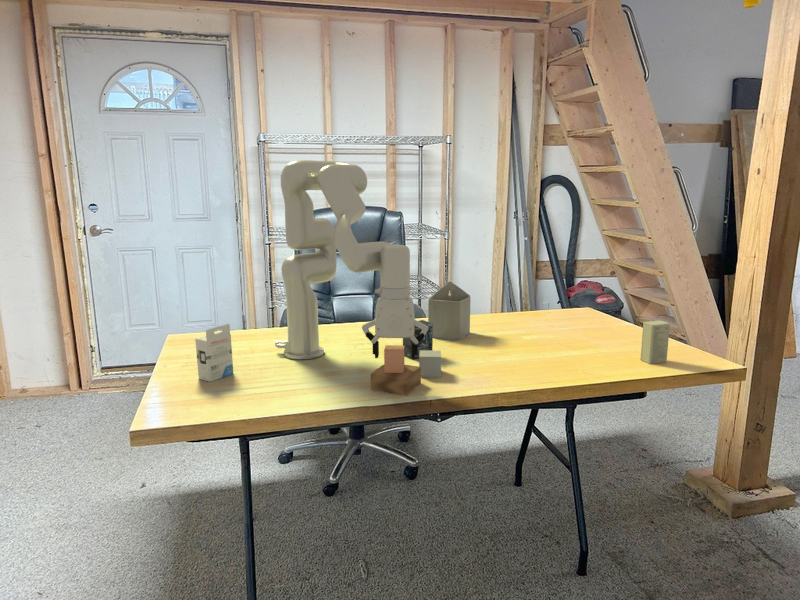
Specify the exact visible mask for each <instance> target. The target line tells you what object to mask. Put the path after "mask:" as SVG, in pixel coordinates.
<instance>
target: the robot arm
mask: <svg viewBox="0 0 800 600" xmlns="http://www.w3.org/2000/svg"><path fill="white" fill-rule="evenodd" d="M367 186H368V177H367V174H366V172H365V171H364V169H362V167H361V166H359V165H357V164H353V163H346V162H340V161H339V162H338V161H332V160H331V161H329V160H311V159H310V160H309V159H308V160H305V159H302V160H301V159H300V160H294V161H290V162H288V163H287V164H286V165H284V167H283V168H282V171H281V175H280V189H281V193H282V196H283V202H284V225H285V227H284V229H285V241H286V244H287V245H286V246H288V248H289V249H291V250H294V251H307V250H314V252H312V253H301V254H294V255H291V256H289V257H287V258H285V259H284V260H283V261H282V264H281V269H280V270H281V276H282V279H283V280H282V281H283V284H284V289H285V291H284V292H285V300H286V301H285V303H286V318H287V319H286V320H287V321H286V322H287V323H286V324H287V339H285V340H275V345H274V346H275V347H276V348H277V349H284V351H283V356H285V357H286V358H288V359H291V360H309V359H315V358H319V357H321V356H323V355H324V354H325V349H324V347H322V346H320V339H319V338H320V335H319V313H318V312H319V308H318V298H317V294H316V292H315V291H314V289H312V287H311V285H314V284H319V283H326V282H329V281H331V280H333V279H334V277H336V273H337V263H338V262H337V258H338V257H337V253H338V254H339V256H340V259H341V260H342V262H343V264H344V265H345V266H346V268H347V269H348V270H350V271H351V272H353V273H356V274H360V273H367V272H375V271H380V272H379V273H380V283H379V284H380V286H379V287H378V288H374V294H376V295H379V297H378V298H377V300H376V306H375V318H374V319H373V320H369V321H368V322H366V323H364V324H362V326H361V330H362V332H363V334H365V335H364V336H365V337H366V338H367V340H369V341H370V343H371V344H372V355H374V359H378V358H379V354H380V352H379V351H380V349H379V348H380V347H379V346H380V341H379V339H381V338H383V339H384V338H385V339H403V338H410V339H411V340H412V341H413V342H412V358H413V359H412V360H415V359H416V358H415V355H417V353H418V343H419V342H420V341H421V340H422V339H423V338H424V336H425V334H426V333H427V331H428V326H427V325H425V324H423V323H421V322H419V321H420V320H417V319H415V308H414V301H413V298H412V297H411V295H410V293H411V291H410V288H411V283H410V282H411V273H410V272H411V267H410V266H411V264H410V262H411V251H410V248H409V247H408V246H407V245H404V244H393V243H390V242H387V241H383V240H382V241H370V242H368V241H367V242H360V243H359V242H358V241H357V239H356V237H355V235H354V234H353V230H352V228H351V225H353V224H355V223H356V222H358V221H359V220H360V219H361V218H362V217H363V216H364V214H365V212H366V205H365V203H364V201H363V199H362V198H361V196H360V194H362V193H363V192H366V189H367V188H368V187H367ZM307 191H321V192H322V193H323V196H324V197H325V200H326V201H327V203H328V204H329V207H330V209H331V210H332V212H333V215H334V217H335V218H336V224H335V226H334V224H333V222H332V221H331V220H329V219H328V218H325V217H315V215H314V211H315V210H314V202H313V200H312V198H311V196H310V195H309V193H308V192H307ZM415 326H416V327H418V328H420V329H422V331H421V333H420V334H419V335H418V336H416V335H415V333H414V331H415ZM372 327H374V334H373V333H372V332H371V331H370V329H371V328H372Z"/></svg>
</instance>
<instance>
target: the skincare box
mask: <svg viewBox="0 0 800 600" xmlns="http://www.w3.org/2000/svg"><path fill="white" fill-rule="evenodd" d="M642 325H643V326H642V336H641V347H640V361H642V362H644V363H646V364H648V365H652V364H662V363H667V362H668V350H669V349H668V348H669V341H670V340H669V338H670V326H671V323H669V322H667V321H663V320H661V319H660V320H658V319H657V320H649V321H643V324H642Z"/></svg>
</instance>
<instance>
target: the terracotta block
mask: <svg viewBox="0 0 800 600" xmlns="http://www.w3.org/2000/svg"><path fill="white" fill-rule="evenodd" d="M383 350H384V351H383V356H384V357H383V358H384V359H383V360H384V361H383V362H384V363H383V365H384V373H404V365H405V356H404V346H403V344H402V345H401V344H400V345H397V344H395V345H387V344H386V345H385V346H384V349H383Z"/></svg>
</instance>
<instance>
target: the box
mask: <svg viewBox="0 0 800 600" xmlns="http://www.w3.org/2000/svg"><path fill="white" fill-rule="evenodd" d="M418 321H419V322H421V323H423V324H425V325H427V326H428V331H427V333H426V334H425V336H424V338H423V339H422V340H421V341H420V342H419V343H418V353H417V355H415V359H419V354H420V350H432V351H433V339H434V338H433V323H430V322H428V320H424V319H420V320H418ZM421 331H422V329H420V328H418V327H416V326H415V331H414V333H415V335H416V336H418V335H419V334H420V333H421ZM412 342H413V341H412V340H411V339H410V338H402V345H403V346H404V357H405V358H408V359H410V360H414V359H413V358H412Z"/></svg>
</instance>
